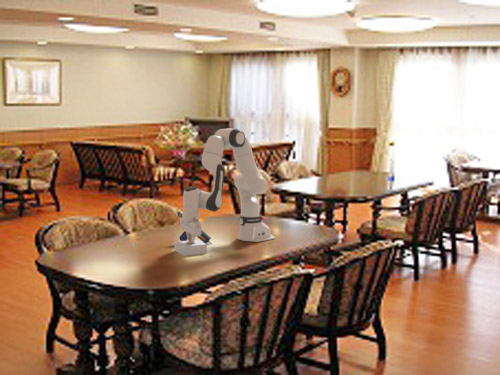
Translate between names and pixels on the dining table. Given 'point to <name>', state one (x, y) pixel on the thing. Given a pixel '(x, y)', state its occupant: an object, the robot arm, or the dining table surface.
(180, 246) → the hole block
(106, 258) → the dining table surface
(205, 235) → the glue gun
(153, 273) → the dining table surface
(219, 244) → the dining table surface
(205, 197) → the robot arm
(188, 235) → the peg
